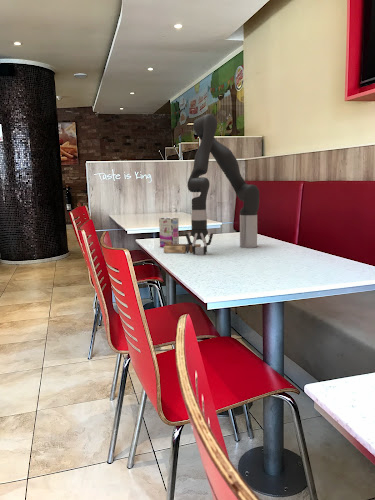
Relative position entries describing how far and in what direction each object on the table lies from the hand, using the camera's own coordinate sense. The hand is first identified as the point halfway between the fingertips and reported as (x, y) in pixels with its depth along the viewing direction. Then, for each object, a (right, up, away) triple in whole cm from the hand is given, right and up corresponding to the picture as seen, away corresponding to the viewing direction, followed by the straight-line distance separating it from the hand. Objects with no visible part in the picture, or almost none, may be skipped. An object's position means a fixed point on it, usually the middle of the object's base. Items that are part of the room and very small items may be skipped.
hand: (199, 253), depth 211 cm
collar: (0, 0, 0) cm, 1 cm away
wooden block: (-9, +1, +8) cm, 12 cm away
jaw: (-12, +1, +5) cm, 13 cm away
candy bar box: (-16, +3, +24) cm, 29 cm away
